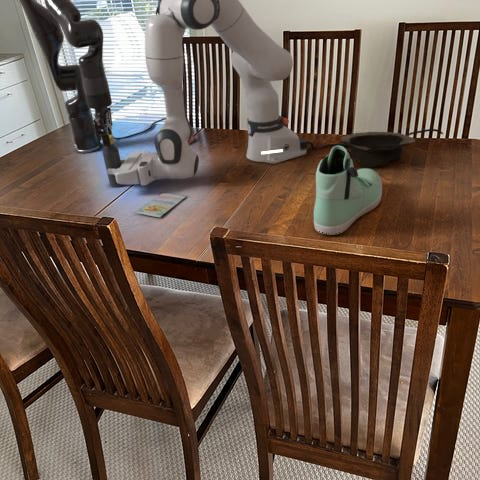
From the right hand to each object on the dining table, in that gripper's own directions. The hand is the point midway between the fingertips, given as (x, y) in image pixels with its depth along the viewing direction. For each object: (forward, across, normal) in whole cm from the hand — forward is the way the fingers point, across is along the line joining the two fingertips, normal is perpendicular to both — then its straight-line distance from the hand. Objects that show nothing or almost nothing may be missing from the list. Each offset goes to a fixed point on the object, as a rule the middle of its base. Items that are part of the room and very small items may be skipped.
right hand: (111, 167), depth 162 cm
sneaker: (-77, +20, +6) cm, 80 cm away
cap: (-1, 0, -10) cm, 10 cm away
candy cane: (-16, -36, +6) cm, 40 cm away
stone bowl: (-90, -18, +6) cm, 92 cm away
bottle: (-1, 0, +6) cm, 6 cm away
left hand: (-1, 0, -8) cm, 9 cm away
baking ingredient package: (-21, +17, +6) cm, 27 cm away
